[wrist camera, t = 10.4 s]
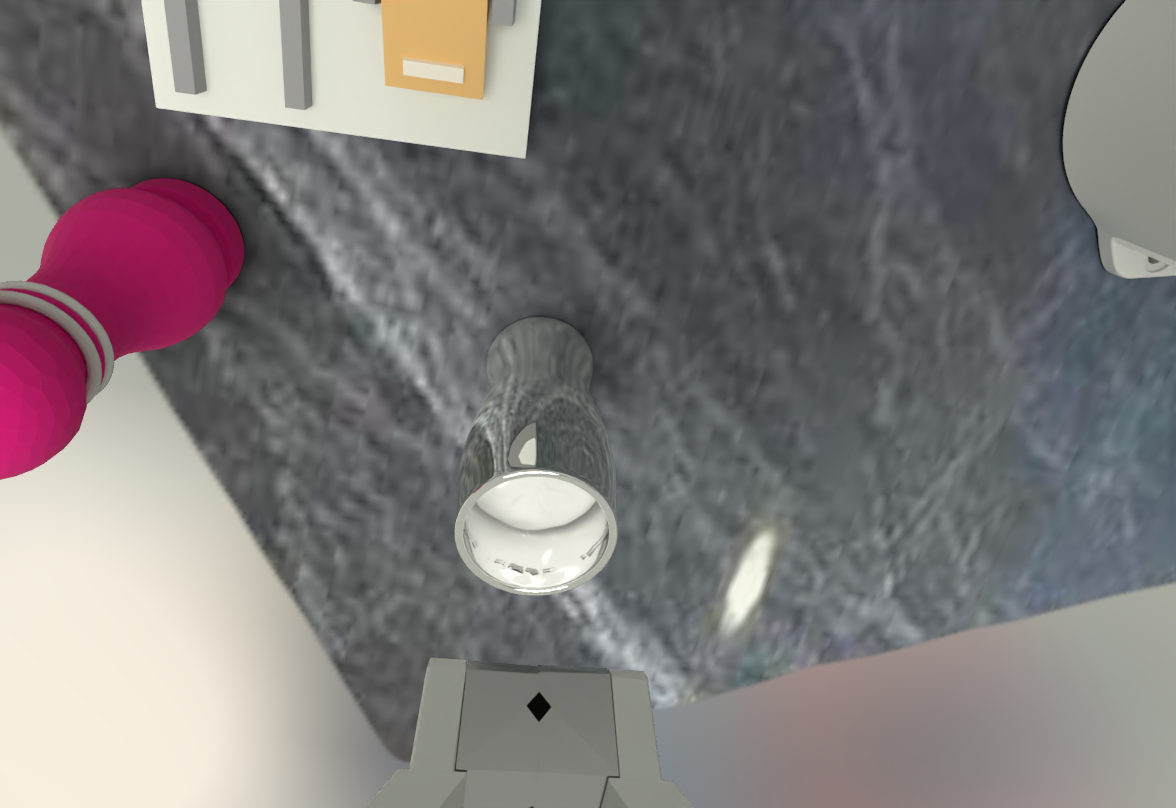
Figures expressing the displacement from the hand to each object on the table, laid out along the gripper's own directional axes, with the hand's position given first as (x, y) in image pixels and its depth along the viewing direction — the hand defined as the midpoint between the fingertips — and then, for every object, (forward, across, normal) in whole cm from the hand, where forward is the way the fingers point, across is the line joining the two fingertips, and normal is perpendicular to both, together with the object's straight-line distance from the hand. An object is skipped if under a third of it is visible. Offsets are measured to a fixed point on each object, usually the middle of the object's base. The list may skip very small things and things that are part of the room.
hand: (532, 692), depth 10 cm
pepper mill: (+31, +18, +6) cm, 37 cm away
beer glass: (+31, -1, +11) cm, 33 cm away
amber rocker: (+26, +5, -8) cm, 27 cm away
